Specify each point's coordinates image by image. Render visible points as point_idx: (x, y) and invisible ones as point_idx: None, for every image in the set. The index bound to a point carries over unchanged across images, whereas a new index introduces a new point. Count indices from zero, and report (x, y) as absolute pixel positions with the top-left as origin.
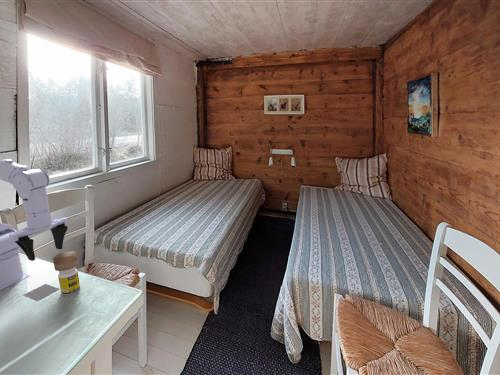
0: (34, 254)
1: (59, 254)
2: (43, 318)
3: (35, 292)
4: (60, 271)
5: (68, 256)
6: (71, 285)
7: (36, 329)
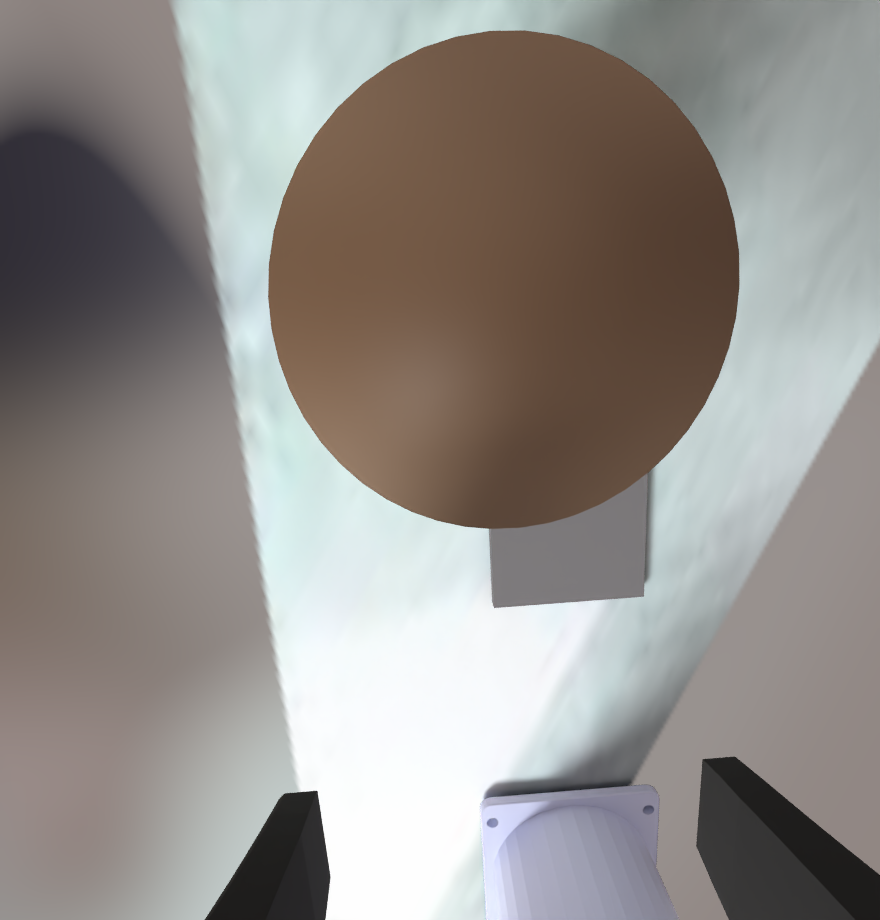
0: (783, 841)
1: (515, 493)
2: (746, 170)
3: (592, 551)
4: None
5: (490, 173)
6: None
7: (843, 78)
